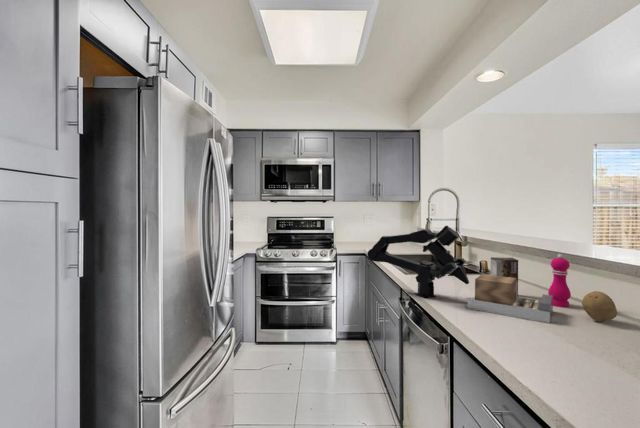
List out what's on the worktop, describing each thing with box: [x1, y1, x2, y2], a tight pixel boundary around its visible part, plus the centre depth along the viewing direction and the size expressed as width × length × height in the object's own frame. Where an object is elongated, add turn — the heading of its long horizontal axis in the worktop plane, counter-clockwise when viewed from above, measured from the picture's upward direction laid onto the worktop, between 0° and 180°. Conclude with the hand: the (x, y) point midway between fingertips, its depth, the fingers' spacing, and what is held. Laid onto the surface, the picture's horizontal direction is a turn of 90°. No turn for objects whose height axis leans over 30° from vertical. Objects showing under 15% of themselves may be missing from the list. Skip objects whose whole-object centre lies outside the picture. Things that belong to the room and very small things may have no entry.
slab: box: [474, 273, 516, 305], centre depth 127 cm, size 12×12×8 cm
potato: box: [581, 290, 618, 323], centre depth 113 cm, size 9×9×10 cm
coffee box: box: [490, 256, 519, 297], centre depth 145 cm, size 9×6×16 cm
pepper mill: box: [547, 253, 572, 308], centre depth 131 cm, size 7×7×20 cm
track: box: [467, 294, 554, 324], centre depth 125 cm, size 26×16×6 cm, turn 52°
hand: (468, 283), depth 133 cm, fingers closed
